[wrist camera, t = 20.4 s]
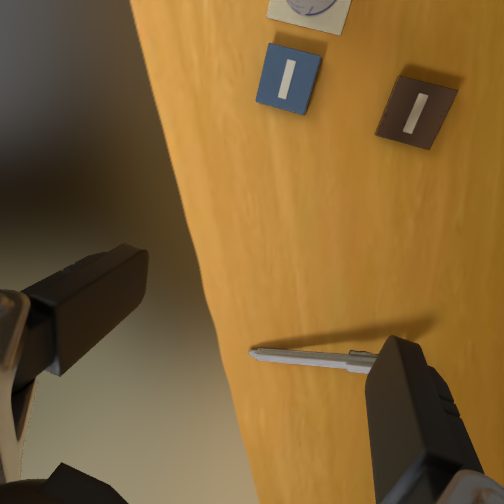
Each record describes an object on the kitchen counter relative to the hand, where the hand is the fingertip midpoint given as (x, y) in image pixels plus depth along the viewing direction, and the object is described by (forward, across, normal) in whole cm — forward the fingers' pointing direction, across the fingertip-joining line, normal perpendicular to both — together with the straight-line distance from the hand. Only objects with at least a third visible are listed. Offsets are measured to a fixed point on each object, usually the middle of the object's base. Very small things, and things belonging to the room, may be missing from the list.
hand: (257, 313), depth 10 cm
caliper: (+26, +8, -20) cm, 34 cm away
